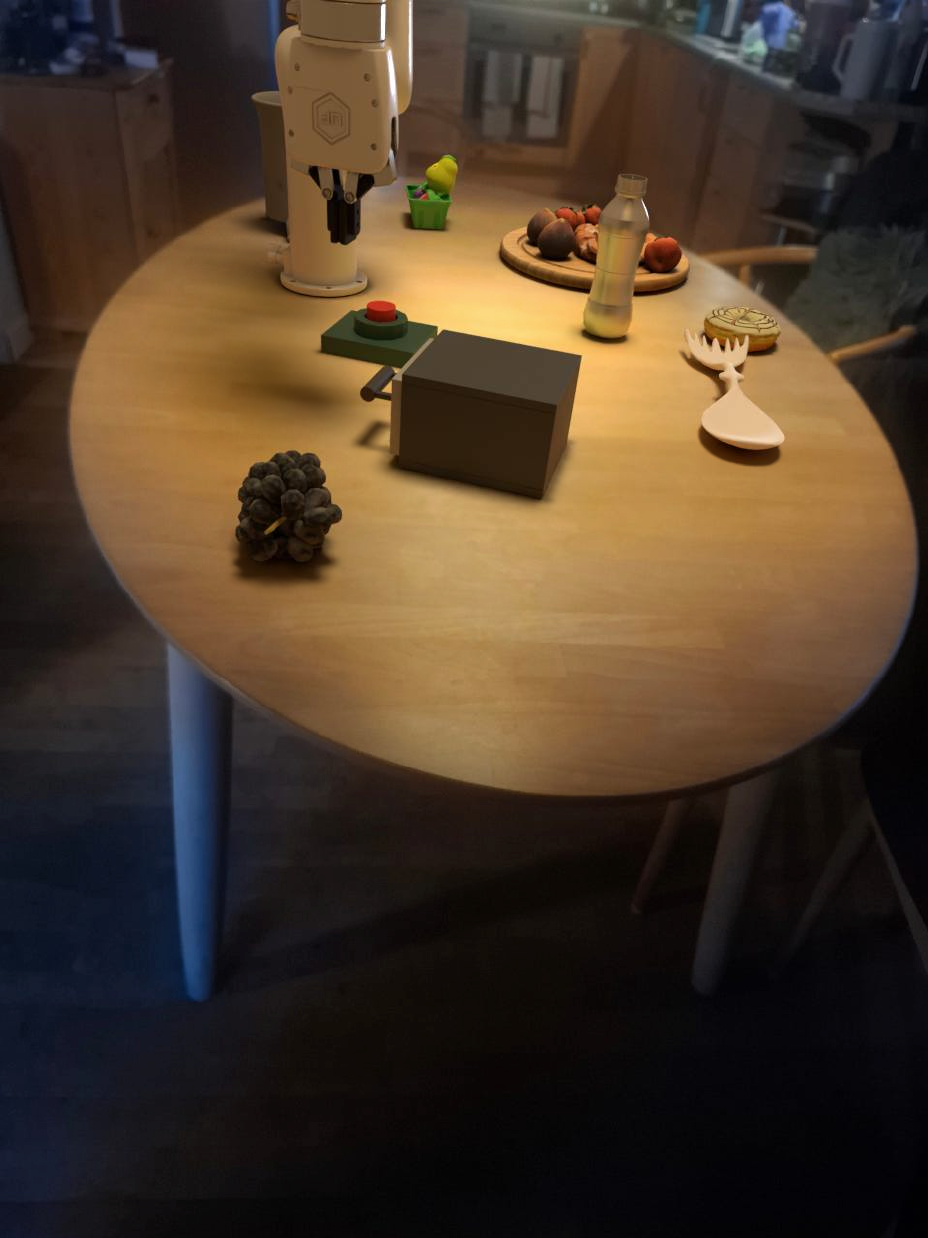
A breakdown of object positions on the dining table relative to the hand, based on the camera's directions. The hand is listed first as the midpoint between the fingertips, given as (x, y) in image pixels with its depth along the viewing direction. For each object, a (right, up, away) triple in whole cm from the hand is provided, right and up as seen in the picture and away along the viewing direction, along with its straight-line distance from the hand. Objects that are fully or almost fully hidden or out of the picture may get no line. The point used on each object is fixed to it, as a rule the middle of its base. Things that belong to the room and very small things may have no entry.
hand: (343, 240), depth 88 cm
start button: (+2, -1, +20) cm, 20 cm away
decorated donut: (+51, +1, +35) cm, 62 cm away
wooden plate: (+34, +21, +58) cm, 71 cm away
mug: (-16, +29, +61) cm, 69 cm away
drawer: (+11, -20, +2) cm, 23 cm away
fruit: (-3, -31, -12) cm, 34 cm away
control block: (+2, -4, +22) cm, 22 cm away
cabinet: (+15, -22, +2) cm, 26 cm away
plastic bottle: (+32, +1, +32) cm, 45 cm away
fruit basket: (+6, +34, +70) cm, 78 cm away
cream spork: (+44, -12, +17) cm, 49 cm away
